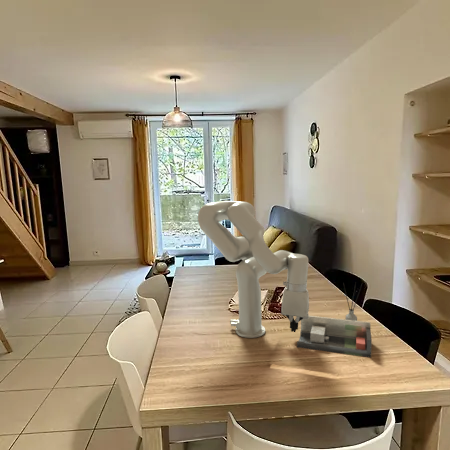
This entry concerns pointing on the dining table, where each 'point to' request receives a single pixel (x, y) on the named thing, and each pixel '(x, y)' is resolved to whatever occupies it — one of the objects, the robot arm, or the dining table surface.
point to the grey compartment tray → (337, 335)
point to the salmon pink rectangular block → (360, 343)
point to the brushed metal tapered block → (318, 335)
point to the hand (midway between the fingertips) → (293, 330)
